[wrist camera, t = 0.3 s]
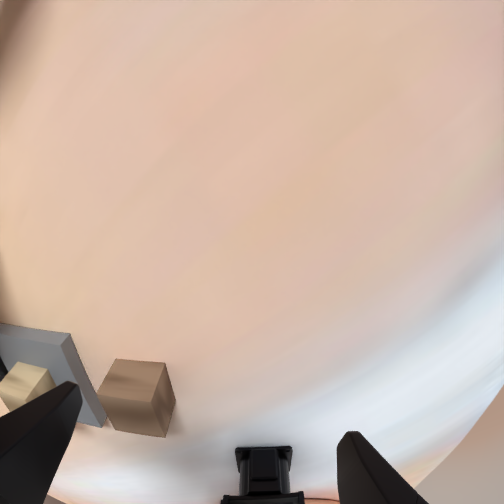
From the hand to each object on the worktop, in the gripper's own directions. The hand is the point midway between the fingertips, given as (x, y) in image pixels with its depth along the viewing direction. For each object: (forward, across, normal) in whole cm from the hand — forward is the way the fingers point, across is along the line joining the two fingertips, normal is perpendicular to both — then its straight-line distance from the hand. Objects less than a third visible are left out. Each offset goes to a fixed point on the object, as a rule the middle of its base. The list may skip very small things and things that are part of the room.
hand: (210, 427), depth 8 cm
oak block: (+12, +19, +17) cm, 28 cm away
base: (+14, +19, +17) cm, 29 cm away
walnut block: (+14, +6, +13) cm, 20 cm away
